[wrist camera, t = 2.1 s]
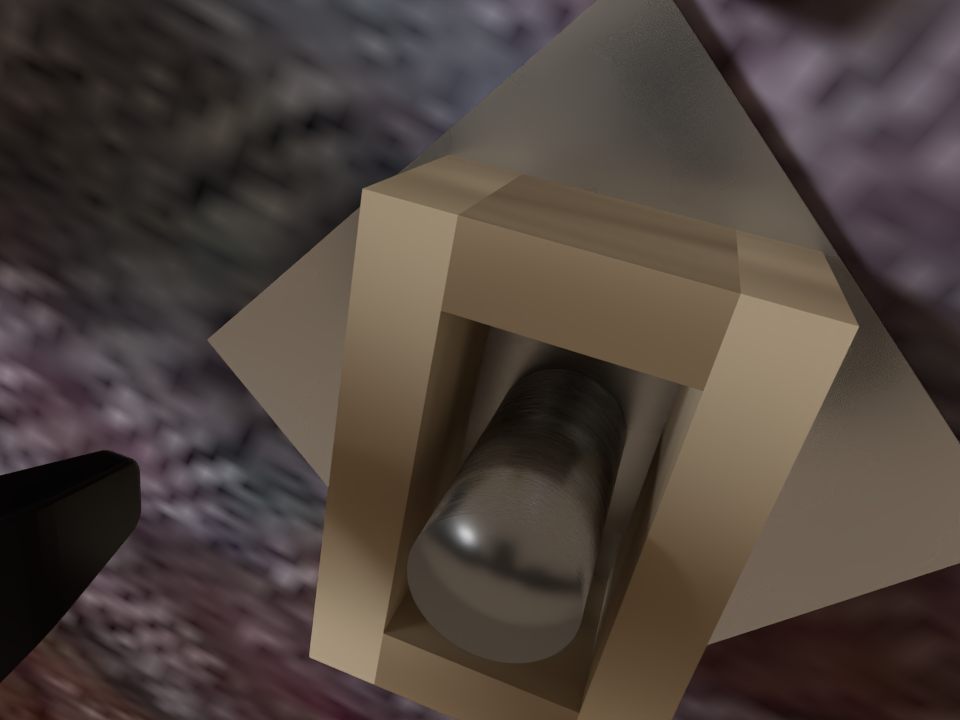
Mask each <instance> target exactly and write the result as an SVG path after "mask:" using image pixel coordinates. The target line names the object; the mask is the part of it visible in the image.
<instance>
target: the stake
mask: <svg viewBox="0 0 960 720" xmlns="http://www.w3.org/2000/svg"><path fill="white" fill-rule="evenodd" d="M447 155H452V156H456V157H460V158H464V159H468V160H472V161H475V162H479V163H483V164H487V165H491V166H494V167H498V168H502V169H506V170H510V171H514V172H517V173H521V174H525V175H529V176H533V177H537V178H540V179H544V180H548V181H552V182H556V183H560V184H563V185H567V186H571V187H575V188H579V189H583V190H586V191H590V192H594V193H598V194H602V195H606V196H609V197H613V198H617V199H621V200H625V201H629V202H632V203H636V204H640V205H644V206H648V207H652V208H655V209H659V210H663V211H667V212H671V213H675V214H678V215H682V216H686V217H690V218H694V219H697V220H701V221H705V222H709V223H713V224H717V225H720V226H724V227H728V228H732V229H736V230H740V231H743V232H747V233H751V234H755V235H759V236H763V237H766V238H770V239H774V240H778V241H782V242H786V243H789V244H793V245H797V246H801V247H805V248H809V249H812V250H816V251H820V252H823V254H824V256H825V258H826V260H827V262H828V264H829V266H830V268H831V270H832V272H833V274H834V276H835V278H836V280H837V282H838V284H839V286H840V288H841V290H842V292H843V295H844V297H845V299H846V301H847V303H848V305H849V307H850V309H851V311H852V313H853V315H854V317H855V319H856V321H857V323H858V325H859V328H858V330H857V332H856V334H855V336H854V339H853V341H852V343H851V345H850V347H849V349H848V351H847V353H846V355H845V357H844V359H843V362H842V364H841V366H840V368H839V370H838V372H837V374H836V376H835V378H834V380H833V383H832V385H831V387H830V389H829V391H828V393H827V395H826V397H825V399H824V401H823V403H822V406H821V408H820V410H819V412H818V414H817V416H816V418H815V420H814V422H813V424H812V426H811V429H810V431H809V433H808V435H807V437H806V439H805V441H804V443H803V445H802V447H801V450H800V452H799V454H798V456H797V458H796V460H795V462H794V464H793V466H792V468H791V470H790V473H789V475H788V477H787V479H786V481H785V483H784V485H783V487H782V489H781V491H780V494H779V496H778V498H777V500H776V502H775V504H774V506H773V508H772V510H771V512H770V514H769V517H768V519H767V521H766V523H765V525H764V527H763V529H762V531H761V533H760V535H759V537H758V540H757V542H756V544H755V546H754V548H753V550H752V552H751V554H750V556H749V558H748V561H747V563H746V565H745V567H744V569H743V571H742V573H741V575H740V577H739V579H738V581H737V584H736V586H735V588H734V590H733V592H732V594H731V596H730V598H729V600H728V602H727V604H726V607H725V609H724V611H723V613H722V615H721V617H720V619H719V621H718V623H717V625H716V628H715V630H714V632H713V634H712V636H711V638H710V640H709V642H708V644H707V645H709V644H712V643H715V642H718V641H721V640H725V639H728V638H731V637H734V636H737V635H740V634H743V633H746V632H749V631H752V630H755V629H758V628H761V627H765V626H768V625H771V624H774V623H777V622H780V621H783V620H786V619H789V618H792V617H795V616H798V615H801V614H805V613H808V612H811V611H814V610H817V609H820V608H823V607H826V606H829V605H832V604H835V603H838V602H841V601H845V600H848V599H851V598H854V597H857V596H860V595H863V594H866V593H869V592H872V591H875V590H878V589H881V588H885V587H888V586H891V585H894V584H897V583H900V582H903V581H906V580H909V579H912V578H915V577H918V576H922V575H925V574H928V573H931V572H934V571H937V570H940V569H943V568H946V567H949V566H952V565H955V564H958V563H960V442H959V441H958V439H957V438H956V436H955V435H954V433H953V432H952V430H951V428H950V427H949V425H948V424H947V422H946V421H945V419H944V418H943V416H942V415H941V413H940V411H939V410H938V408H937V407H936V405H935V404H934V402H933V401H932V399H931V398H930V396H929V394H928V393H927V391H926V390H925V388H924V387H923V385H922V384H921V382H920V381H919V379H918V377H917V376H916V374H915V373H914V371H913V370H912V368H911V367H910V365H909V364H908V362H907V360H906V359H905V357H904V356H903V354H902V353H901V351H900V350H899V348H898V347H897V345H896V343H895V342H894V340H893V339H892V337H891V336H890V334H889V333H888V331H887V329H886V328H885V326H884V325H883V323H882V322H881V320H880V319H879V317H878V316H877V314H876V312H875V311H874V309H873V308H872V306H871V305H870V303H869V302H868V300H867V299H866V297H865V295H864V294H863V292H862V291H861V289H860V288H859V286H858V285H857V283H856V282H855V280H854V278H853V277H852V275H851V274H850V272H849V271H848V269H847V268H846V266H845V265H844V263H843V261H842V260H841V258H840V257H839V255H838V254H837V252H836V251H835V249H834V248H833V246H832V244H831V243H830V241H829V240H828V238H827V237H826V235H825V234H824V232H823V231H822V229H821V227H820V226H819V224H818V223H817V221H816V220H815V218H814V217H813V215H812V214H811V212H810V210H809V209H808V207H807V206H806V204H805V203H804V201H803V200H802V198H801V197H800V195H799V193H798V192H797V190H796V189H795V187H794V186H793V184H792V183H791V181H790V180H789V178H788V176H787V175H786V173H785V172H784V170H783V169H782V167H781V166H780V164H779V163H778V161H777V159H776V158H775V156H774V155H773V153H772V152H771V150H770V149H769V147H768V146H767V144H766V142H765V141H764V139H763V138H762V136H761V135H760V133H759V132H758V130H757V129H756V127H755V125H754V124H753V122H752V121H751V119H750V118H749V116H748V115H747V113H746V112H745V110H744V108H743V107H742V105H741V104H740V102H739V101H738V99H737V98H736V96H735V95H734V93H733V91H732V90H731V88H730V87H729V85H728V84H727V82H726V81H725V79H724V77H723V76H722V74H721V73H720V71H719V70H718V68H717V67H716V65H715V64H714V62H713V60H712V59H711V57H710V56H709V54H708V53H707V51H706V50H705V48H704V47H703V45H702V43H701V42H700V40H699V39H698V37H697V36H696V34H695V33H694V31H693V30H692V28H691V26H690V25H689V23H688V22H687V20H686V19H685V17H684V16H683V14H682V13H681V11H680V9H679V8H678V6H677V5H676V3H675V2H674V0H597V1H596V2H595V3H594V4H593V5H591V6H590V7H589V8H588V9H587V10H586V11H585V12H583V13H582V14H581V15H580V16H579V17H578V18H576V19H575V20H574V21H573V22H572V23H571V24H570V25H568V26H567V27H566V28H565V29H564V30H563V31H562V32H560V33H559V34H558V35H557V36H556V37H555V38H553V39H552V40H551V41H550V42H549V43H548V44H547V45H545V46H544V47H543V48H542V49H541V50H540V51H539V52H537V53H536V54H535V55H534V56H533V57H532V58H531V59H529V60H528V61H527V62H526V63H525V64H524V65H522V66H521V67H520V68H519V69H518V70H517V71H516V72H514V73H513V74H512V75H511V76H510V77H509V78H508V79H506V80H505V81H504V82H503V83H502V84H501V85H499V86H498V87H497V88H496V89H495V90H494V91H493V92H491V93H490V94H489V95H488V96H487V97H486V98H485V99H483V100H482V101H481V102H480V103H479V104H478V105H476V106H475V107H474V108H473V109H472V110H471V111H470V112H468V113H467V114H466V115H465V116H464V117H463V118H462V119H460V120H459V121H458V122H457V123H456V124H455V125H454V126H452V127H451V128H450V129H449V130H448V131H447V132H445V133H444V134H443V135H442V136H441V137H440V138H439V139H437V140H436V141H435V142H434V143H433V144H432V145H431V146H429V147H428V148H427V149H426V150H425V151H424V152H422V153H421V154H420V155H419V156H418V157H417V158H416V159H414V160H413V161H412V162H411V163H410V164H409V165H408V166H406V167H405V168H404V169H403V170H402V171H401V172H399V173H398V174H401V173H403V172H406V171H408V170H411V169H414V168H416V167H419V166H421V165H424V164H426V163H429V162H431V161H434V160H436V159H439V158H442V157H444V156H447ZM398 174H397V175H398ZM359 214H360V207H359V208H358V209H357V210H356V211H355V212H354V213H352V214H351V215H350V216H349V217H348V218H347V219H345V220H344V221H343V222H342V223H341V224H340V225H339V226H337V227H336V228H335V229H334V230H333V231H332V232H331V233H329V234H328V235H327V236H326V237H325V238H324V239H323V240H321V241H320V242H319V243H318V244H317V245H316V246H314V247H313V248H312V249H311V250H310V251H309V252H308V253H306V254H305V255H304V256H303V257H302V258H301V259H300V260H298V261H297V262H296V263H295V264H294V265H293V266H291V267H290V268H289V269H288V270H287V271H286V272H285V273H283V274H282V275H281V276H280V277H279V278H278V279H277V280H275V281H274V282H273V283H272V284H271V285H270V286H268V287H267V288H266V289H265V290H264V291H263V292H262V293H260V294H259V295H258V296H257V297H256V298H255V299H254V300H252V301H251V302H250V303H249V304H248V305H247V306H246V307H244V308H243V309H242V310H241V311H240V312H239V313H237V314H236V315H235V316H234V317H233V318H232V319H231V320H229V321H228V322H227V323H226V324H225V325H224V326H223V327H221V328H220V329H219V330H218V331H217V332H216V333H214V334H213V335H212V336H211V337H210V338H209V339H208V342H209V343H210V344H211V345H212V347H213V348H214V349H215V350H216V351H217V353H218V354H219V355H220V356H221V358H222V359H223V360H224V361H225V362H226V364H227V365H228V366H229V367H230V368H231V370H232V371H233V372H234V373H235V375H236V376H237V377H238V378H239V379H240V381H241V382H242V383H243V384H244V385H245V387H246V388H247V389H248V390H249V392H250V393H251V394H252V395H253V396H254V398H255V399H256V400H257V401H258V402H259V404H260V405H261V406H262V407H263V409H264V410H265V411H266V412H267V413H268V415H269V416H270V417H271V418H272V419H273V421H274V422H275V423H276V424H277V426H278V427H279V428H280V429H281V430H282V432H283V433H284V434H285V435H286V436H287V438H288V439H289V440H290V441H291V443H292V444H293V445H294V446H295V447H296V449H297V450H298V451H299V452H300V453H301V455H302V456H303V457H304V458H305V460H306V461H307V462H308V463H309V464H310V466H311V467H312V468H313V469H314V470H315V472H316V473H317V474H318V475H319V477H320V478H321V479H322V480H323V481H324V483H325V484H326V485H327V486H328V487H329V478H330V469H331V461H332V452H333V443H334V434H335V425H336V417H337V408H338V399H339V390H340V381H341V373H342V364H343V355H344V346H345V337H346V329H347V320H348V311H349V302H350V293H351V285H352V276H353V267H354V258H355V249H356V241H357V232H358V223H359ZM679 385H680V384H678V383H675V382H672V381H669V380H665V379H662V378H659V377H656V376H652V375H649V374H646V373H643V372H639V371H636V370H633V369H630V368H626V367H623V366H620V365H617V364H613V363H610V362H607V361H603V360H600V359H597V358H594V357H590V356H587V355H584V354H581V353H577V352H574V351H571V350H568V349H564V348H561V347H558V346H555V345H551V344H548V343H545V342H542V341H538V340H535V339H532V338H529V337H525V336H522V335H519V334H515V333H512V332H509V331H506V330H502V329H499V328H496V327H493V326H490V328H489V333H488V338H487V342H486V347H485V352H484V356H483V361H482V366H481V370H480V375H479V380H478V384H477V389H476V394H475V398H474V403H473V407H472V412H471V417H470V421H469V426H468V431H467V435H466V440H465V445H464V449H463V454H462V459H461V463H460V468H459V472H458V473H457V475H456V477H455V478H454V480H453V481H452V483H451V485H450V486H449V488H448V489H447V491H446V493H445V494H444V496H443V497H442V499H441V501H440V502H439V504H438V506H437V507H436V509H435V510H434V512H433V514H432V515H431V517H430V518H429V520H428V522H427V523H426V525H425V526H424V528H423V530H422V531H421V533H420V534H419V536H418V538H417V539H416V541H415V543H414V545H413V546H412V548H411V551H410V554H409V557H408V563H407V578H408V584H409V588H410V591H411V594H412V596H413V599H414V601H415V603H416V605H417V606H418V608H419V610H420V612H421V613H422V614H423V616H424V617H425V618H426V620H427V621H428V622H429V623H430V624H431V625H432V626H433V627H434V628H435V629H436V630H437V631H438V632H439V633H440V634H441V635H442V636H444V637H445V638H446V639H448V640H449V641H450V642H452V643H453V644H455V645H457V646H458V647H460V648H462V649H464V650H466V651H468V652H470V653H472V654H475V655H477V656H480V657H482V658H486V659H490V660H493V661H499V662H505V663H528V662H535V661H539V660H542V659H546V658H548V657H550V656H552V655H555V654H556V653H558V652H559V651H561V650H562V649H563V648H565V647H566V646H567V645H568V644H569V643H570V642H571V640H572V639H573V638H574V637H575V635H576V633H577V631H578V629H579V627H580V624H581V620H582V617H583V612H584V608H585V604H586V600H587V596H588V592H589V588H590V584H591V580H592V576H593V575H595V576H597V577H600V578H603V579H606V580H608V579H609V576H610V574H611V571H612V568H613V565H614V563H615V560H616V557H617V554H618V552H619V549H620V546H621V543H622V541H623V538H624V535H625V532H626V530H627V527H628V524H629V522H630V519H631V516H632V513H633V511H634V508H635V505H636V502H637V500H638V497H639V494H640V491H641V489H642V486H643V483H644V480H645V478H646V475H647V472H648V469H649V467H650V464H651V461H652V459H653V456H654V453H655V450H656V448H657V445H658V442H659V439H660V437H661V434H662V431H663V428H664V426H665V423H666V420H667V417H668V415H669V412H670V409H671V406H672V404H673V401H674V398H675V395H676V393H677V390H678V387H679Z"/></svg>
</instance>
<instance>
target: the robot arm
mask: <svg viewBox="0 0 960 720" xmlns="http://www.w3.org/2000/svg"><path fill="white" fill-rule="evenodd" d="M140 514H141V489H140V469H139V466H138V464H137V462H136V461H135V460H133V459H131V458H129V457H126V456H124V455H121V454H118V453H116V452H113V451H109V450H102V451H98V452H94V453H89V454H85V455H81V456H77V457H73V458H69V459H65V460H61V461H57V462H53V463H49V464H45V465H41V466H37V467H33V468H29V469H25V470H21V471H16V472H12V473H8V474H4V475H0V683H1V682H2V681H3V680H4V679H5V678H6V677H7V676H8V675H9V674H10V673H11V672H12V670H13V669H14V668H15V667H16V666H17V665H18V664H19V663H20V662H21V661H22V660H23V659H24V658H25V657H26V656H27V655H28V654H29V653H30V652H31V651H32V650H33V649H34V648H35V647H36V646H37V645H38V644H39V643H40V642H41V641H42V640H43V639H44V637H45V636H46V635H47V634H48V633H49V632H50V631H51V630H52V629H53V628H54V626H55V625H56V624H57V623H58V622H59V621H60V620H61V618H62V617H63V616H64V615H65V614H66V613H67V611H68V610H69V609H70V608H71V606H72V605H73V604H74V603H75V602H76V600H77V599H78V598H79V597H80V595H81V594H82V593H83V592H84V590H85V589H86V588H87V587H88V586H89V584H90V583H91V582H92V581H93V579H94V578H95V577H96V576H97V575H98V573H99V572H100V571H101V570H102V568H103V567H104V566H105V565H106V563H107V562H108V561H109V560H110V559H111V557H112V556H113V555H114V554H115V552H116V551H117V550H118V549H119V548H120V546H121V545H122V544H123V543H124V541H125V540H126V539H127V538H128V537H129V535H130V534H131V533H132V531H133V530H134V529H135V527H136V525H137V523H138V521H139V518H140Z"/></svg>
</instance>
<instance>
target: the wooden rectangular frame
mask: <svg viewBox="0 0 960 720" xmlns="http://www.w3.org/2000/svg"><path fill="white" fill-rule="evenodd" d="M490 326H493V327H496V328H499V329H502V330H506V331H509V332H512V333H515V334H519V335H522V336H525V337H529V338H532V339H535V340H538V341H542V342H545V343H548V344H551V345H555V346H558V347H561V348H564V349H568V350H571V351H574V352H577V353H581V354H584V355H587V356H590V357H594V358H597V359H600V360H603V361H607V362H610V363H613V364H617V365H620V366H623V367H626V368H630V369H633V370H636V371H639V372H643V373H646V374H649V375H652V376H656V377H659V378H662V379H665V380H669V381H672V382H675V383H678V384H680V385H679V387H678V390H677V393H676V395H675V398H674V401H673V404H672V406H671V409H670V412H669V415H668V417H667V420H666V423H665V426H664V428H663V431H662V434H661V437H660V439H659V442H658V445H657V448H656V450H655V453H654V456H653V459H652V461H651V464H650V467H649V469H648V472H647V475H646V478H645V480H644V483H643V486H642V489H641V491H640V494H639V497H638V500H637V502H636V505H635V508H634V511H633V513H632V516H631V519H630V522H629V524H628V527H627V530H626V532H625V535H624V538H623V541H622V543H621V546H620V549H619V552H618V554H617V557H616V560H615V563H614V565H613V568H612V571H611V574H610V576H609V579H608V580H606V579H603V578H600V577H597V576H595V575H593V576H592V580H591V584H590V588H589V592H588V596H587V600H586V604H585V608H584V612H583V617H582V620H581V624H580V627H579V629H578V631H577V633H576V635H575V637H574V638H573V639H572V640H571V642H570V643H569V644H568V645H567V646H566V647H565V648H563V649H562V650H561V651H559V652H558V653H556V654H555V655H552V656H550V657H548V658H546V659H542V660H539V661H535V662H528V663H505V662H499V661H493V660H490V659H486V658H482V657H480V656H477V655H475V654H472V653H470V652H468V651H466V650H464V649H462V648H460V647H458V646H457V645H455V644H453V643H452V642H450V641H449V640H448V639H446V638H445V637H444V636H442V635H441V634H440V633H439V632H438V631H437V630H436V629H435V628H434V627H433V626H432V625H431V624H430V623H429V622H428V621H427V620H426V618H425V617H424V616H423V614H422V613H421V612H420V610H419V608H418V606H417V605H416V603H415V601H414V599H413V596H412V594H411V591H410V588H409V584H408V578H407V563H408V557H409V554H410V551H411V548H412V546H413V545H414V543H415V541H416V539H417V538H418V536H419V534H420V533H421V531H422V530H423V528H424V526H425V525H426V523H427V522H428V520H429V518H430V517H431V515H432V514H433V512H434V510H435V509H436V507H437V506H438V504H439V502H440V501H441V499H442V497H443V496H444V494H445V493H446V491H447V489H448V488H449V486H450V485H451V483H452V481H453V480H454V478H455V477H456V475H457V473H458V472H459V468H460V463H461V459H462V454H463V449H464V445H465V440H466V435H467V431H468V426H469V421H470V417H471V412H472V407H473V403H474V398H475V394H476V389H477V384H478V380H479V375H480V370H481V366H482V361H483V356H484V352H485V347H486V342H487V338H488V333H489V328H490ZM858 328H859V325H858V323H857V321H856V319H855V317H854V315H853V313H852V311H851V309H850V307H849V305H848V303H847V301H846V299H845V297H844V295H843V292H842V290H841V288H840V286H839V284H838V282H837V280H836V278H835V276H834V274H833V272H832V270H831V268H830V266H829V264H828V262H827V260H826V258H825V256H824V254H823V252H820V251H816V250H812V249H809V248H805V247H801V246H797V245H793V244H789V243H786V242H782V241H778V240H774V239H770V238H766V237H763V236H759V235H755V234H751V233H747V232H743V231H740V230H736V229H732V228H728V227H724V226H720V225H717V224H713V223H709V222H705V221H701V220H697V219H694V218H690V217H686V216H682V215H678V214H675V213H671V212H667V211H663V210H659V209H655V208H652V207H648V206H644V205H640V204H636V203H632V202H629V201H625V200H621V199H617V198H613V197H609V196H606V195H602V194H598V193H594V192H590V191H586V190H583V189H579V188H575V187H571V186H567V185H563V184H560V183H556V182H552V181H548V180H544V179H540V178H537V177H533V176H529V175H525V174H521V173H517V172H514V171H510V170H506V169H502V168H498V167H494V166H491V165H487V164H483V163H479V162H475V161H472V160H468V159H464V158H460V157H456V156H452V155H447V156H444V157H442V158H439V159H436V160H434V161H431V162H429V163H426V164H424V165H421V166H419V167H416V168H414V169H411V170H408V171H406V172H403V173H401V174H398V175H396V176H393V177H391V178H388V179H386V180H383V181H380V182H378V183H375V184H373V185H370V186H368V187H365V188H363V189H362V197H361V205H360V214H359V223H358V232H357V241H356V249H355V258H354V267H353V276H352V285H351V293H350V302H349V311H348V320H347V329H346V337H345V346H344V355H343V364H342V373H341V381H340V390H339V399H338V408H337V417H336V425H335V434H334V443H333V452H332V461H331V469H330V478H329V487H328V496H327V505H326V513H325V522H324V531H323V540H322V549H321V557H320V566H319V575H318V584H317V593H316V601H315V610H314V619H313V628H312V637H311V645H310V654H309V657H310V658H312V659H315V660H317V661H320V662H322V663H324V664H327V665H329V666H331V667H334V668H336V669H339V670H341V671H343V672H346V673H348V674H350V675H353V676H355V677H357V678H360V679H362V680H365V681H367V682H369V683H372V684H374V685H376V686H379V687H381V688H383V689H386V690H388V691H391V692H393V693H395V694H398V695H400V696H402V697H405V698H407V699H409V700H412V701H414V702H417V703H419V704H421V705H424V706H426V707H428V708H431V709H433V710H435V711H438V712H440V713H443V714H445V715H447V716H450V717H452V718H454V719H457V720H672V718H673V715H674V713H675V711H676V709H677V707H678V705H679V703H680V701H681V699H682V697H683V695H684V692H685V690H686V688H687V686H688V684H689V682H690V680H691V678H692V676H693V674H694V672H695V669H696V667H697V665H698V663H699V661H700V659H701V657H702V655H703V653H704V651H705V648H706V646H707V644H708V642H709V640H710V638H711V636H712V634H713V632H714V630H715V628H716V625H717V623H718V621H719V619H720V617H721V615H722V613H723V611H724V609H725V607H726V604H727V602H728V600H729V598H730V596H731V594H732V592H733V590H734V588H735V586H736V584H737V581H738V579H739V577H740V575H741V573H742V571H743V569H744V567H745V565H746V563H747V561H748V558H749V556H750V554H751V552H752V550H753V548H754V546H755V544H756V542H757V540H758V537H759V535H760V533H761V531H762V529H763V527H764V525H765V523H766V521H767V519H768V517H769V514H770V512H771V510H772V508H773V506H774V504H775V502H776V500H777V498H778V496H779V494H780V491H781V489H782V487H783V485H784V483H785V481H786V479H787V477H788V475H789V473H790V470H791V468H792V466H793V464H794V462H795V460H796V458H797V456H798V454H799V452H800V450H801V447H802V445H803V443H804V441H805V439H806V437H807V435H808V433H809V431H810V429H811V426H812V424H813V422H814V420H815V418H816V416H817V414H818V412H819V410H820V408H821V406H822V403H823V401H824V399H825V397H826V395H827V393H828V391H829V389H830V387H831V385H832V383H833V380H834V378H835V376H836V374H837V372H838V370H839V368H840V366H841V364H842V362H843V359H844V357H845V355H846V353H847V351H848V349H849V347H850V345H851V343H852V341H853V339H854V336H855V334H856V332H857V330H858Z"/></svg>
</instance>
